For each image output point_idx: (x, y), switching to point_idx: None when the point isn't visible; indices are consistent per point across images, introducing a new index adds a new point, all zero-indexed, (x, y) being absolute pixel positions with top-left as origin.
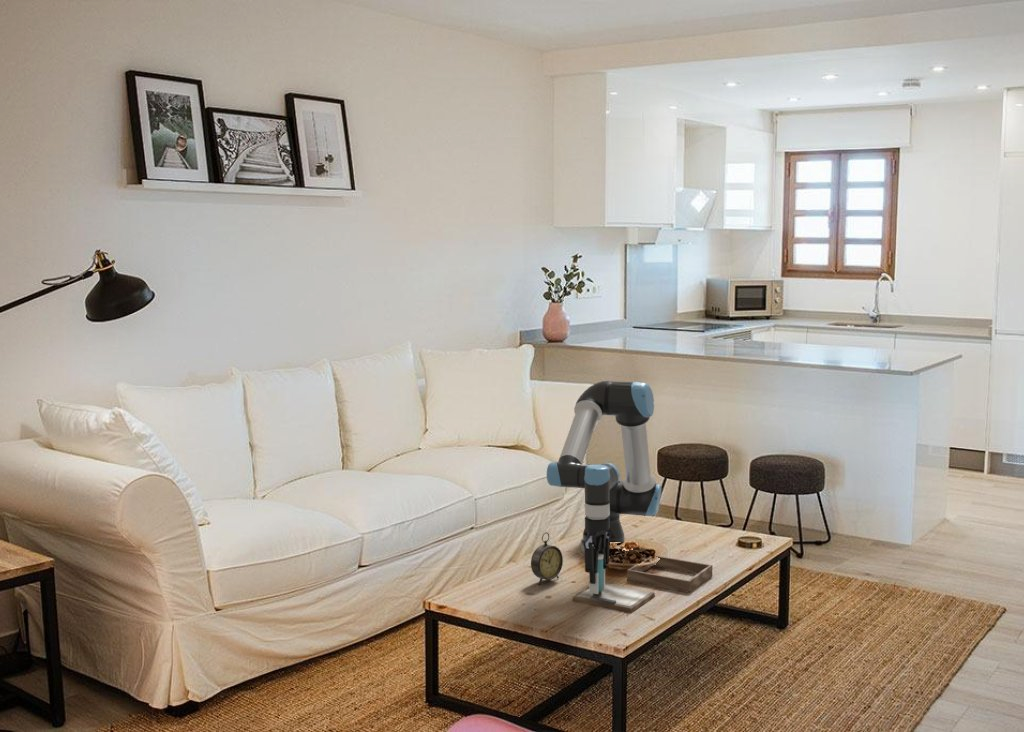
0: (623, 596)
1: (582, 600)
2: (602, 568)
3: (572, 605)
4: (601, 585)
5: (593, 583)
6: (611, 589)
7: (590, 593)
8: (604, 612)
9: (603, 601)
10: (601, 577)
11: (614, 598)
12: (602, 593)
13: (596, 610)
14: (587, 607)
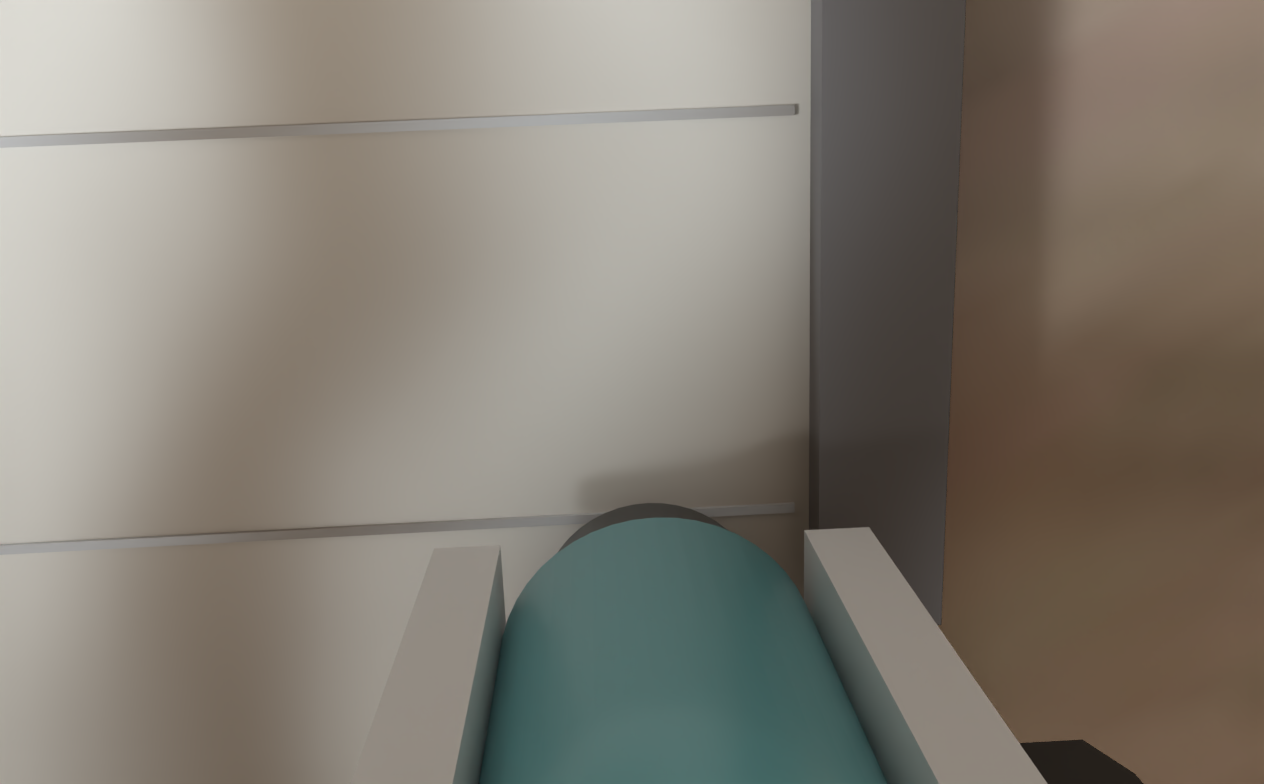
0: (294, 43)
1: None
2: None
3: (1140, 775)
4: (717, 593)
5: (1098, 765)
6: (71, 543)
7: None
8: (1226, 43)
9: (948, 266)
10: (771, 750)
11: (559, 171)
12: None
13: (1188, 258)
14: (1111, 498)
